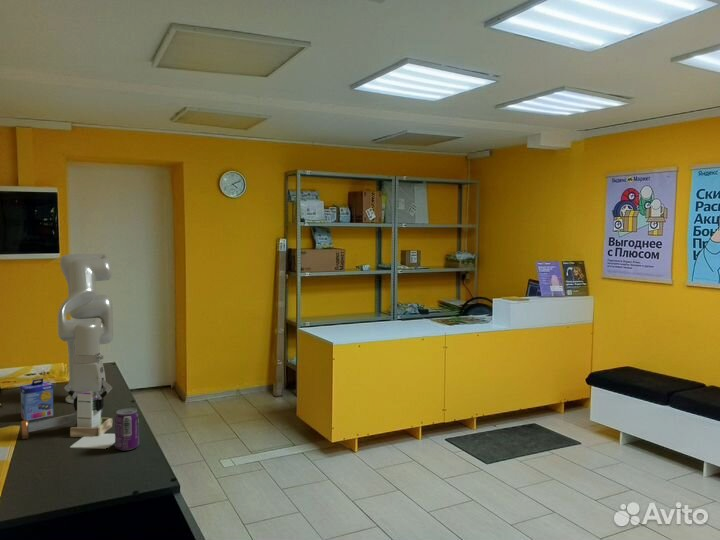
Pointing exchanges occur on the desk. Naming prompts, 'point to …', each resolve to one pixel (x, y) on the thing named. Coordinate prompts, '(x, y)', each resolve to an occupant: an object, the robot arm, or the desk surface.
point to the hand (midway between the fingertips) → (88, 409)
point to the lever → (47, 424)
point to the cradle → (92, 429)
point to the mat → (95, 441)
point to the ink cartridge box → (36, 400)
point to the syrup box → (88, 410)
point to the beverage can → (126, 429)
